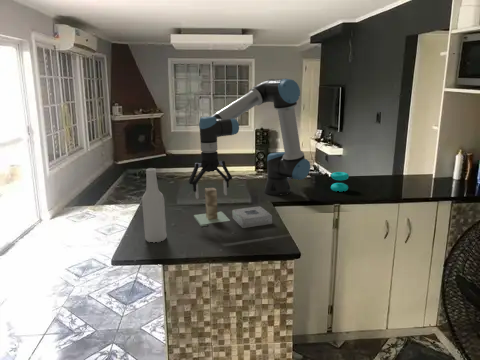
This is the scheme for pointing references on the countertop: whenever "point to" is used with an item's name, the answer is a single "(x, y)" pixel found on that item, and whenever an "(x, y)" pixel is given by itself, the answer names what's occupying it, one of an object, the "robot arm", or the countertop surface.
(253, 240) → the countertop surface
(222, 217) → the pad
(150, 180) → the alcohol
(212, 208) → the square peg
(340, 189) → the donuts
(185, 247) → the countertop surface
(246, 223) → the hole block
